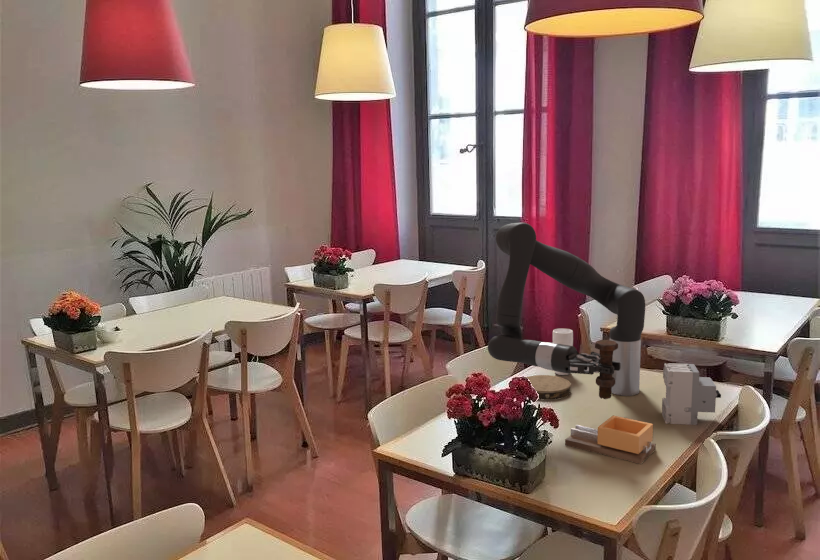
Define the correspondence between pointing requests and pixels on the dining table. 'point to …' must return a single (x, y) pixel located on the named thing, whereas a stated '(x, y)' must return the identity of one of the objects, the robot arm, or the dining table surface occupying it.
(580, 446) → the rail board
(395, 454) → the dining table surface
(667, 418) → the circuit breaker
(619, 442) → the orange open box
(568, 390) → the brown round disc
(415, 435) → the dining table surface
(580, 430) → the rail
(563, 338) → the drinking glass
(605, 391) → the bolt
